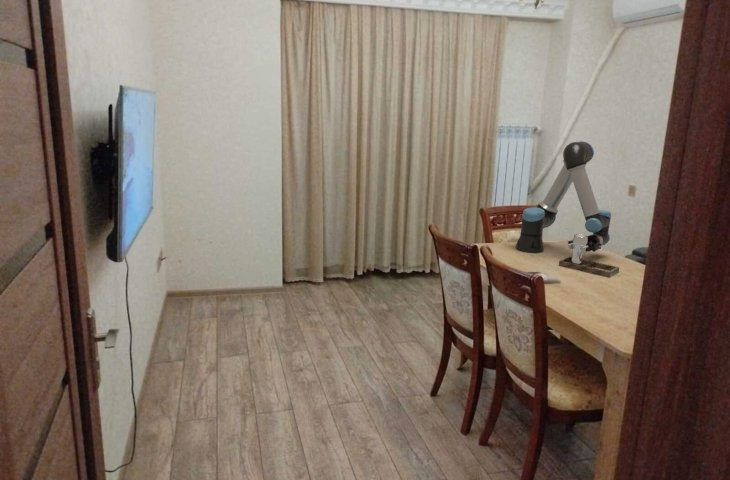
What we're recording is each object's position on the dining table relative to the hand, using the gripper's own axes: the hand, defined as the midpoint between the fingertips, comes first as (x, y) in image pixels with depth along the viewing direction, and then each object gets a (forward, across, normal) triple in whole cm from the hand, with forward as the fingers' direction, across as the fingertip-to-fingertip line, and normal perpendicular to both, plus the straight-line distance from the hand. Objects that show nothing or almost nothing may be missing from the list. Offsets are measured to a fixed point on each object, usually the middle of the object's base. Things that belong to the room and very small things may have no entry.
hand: (575, 248), depth 256 cm
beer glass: (-5, 0, -9) cm, 10 cm away
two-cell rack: (-5, -6, -10) cm, 13 cm away
